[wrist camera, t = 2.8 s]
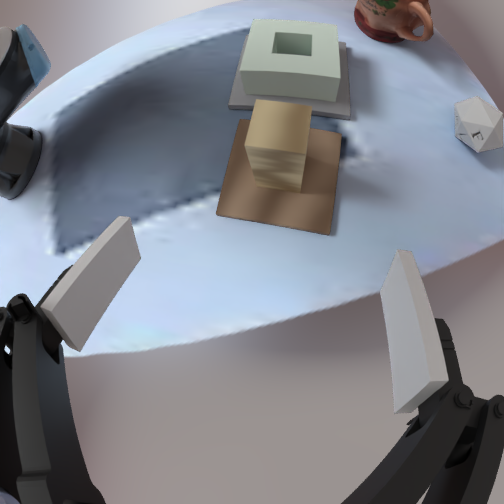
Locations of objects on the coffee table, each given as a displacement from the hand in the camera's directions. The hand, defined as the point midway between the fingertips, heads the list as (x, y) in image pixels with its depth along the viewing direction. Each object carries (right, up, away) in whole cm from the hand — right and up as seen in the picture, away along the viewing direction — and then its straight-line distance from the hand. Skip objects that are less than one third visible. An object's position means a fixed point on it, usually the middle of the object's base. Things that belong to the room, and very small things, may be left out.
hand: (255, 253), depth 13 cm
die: (+33, +18, +17) cm, 41 cm away
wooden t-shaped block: (+3, +10, +19) cm, 22 cm away
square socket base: (+6, +26, +21) cm, 34 cm away
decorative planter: (+24, +39, +21) cm, 50 cm away
